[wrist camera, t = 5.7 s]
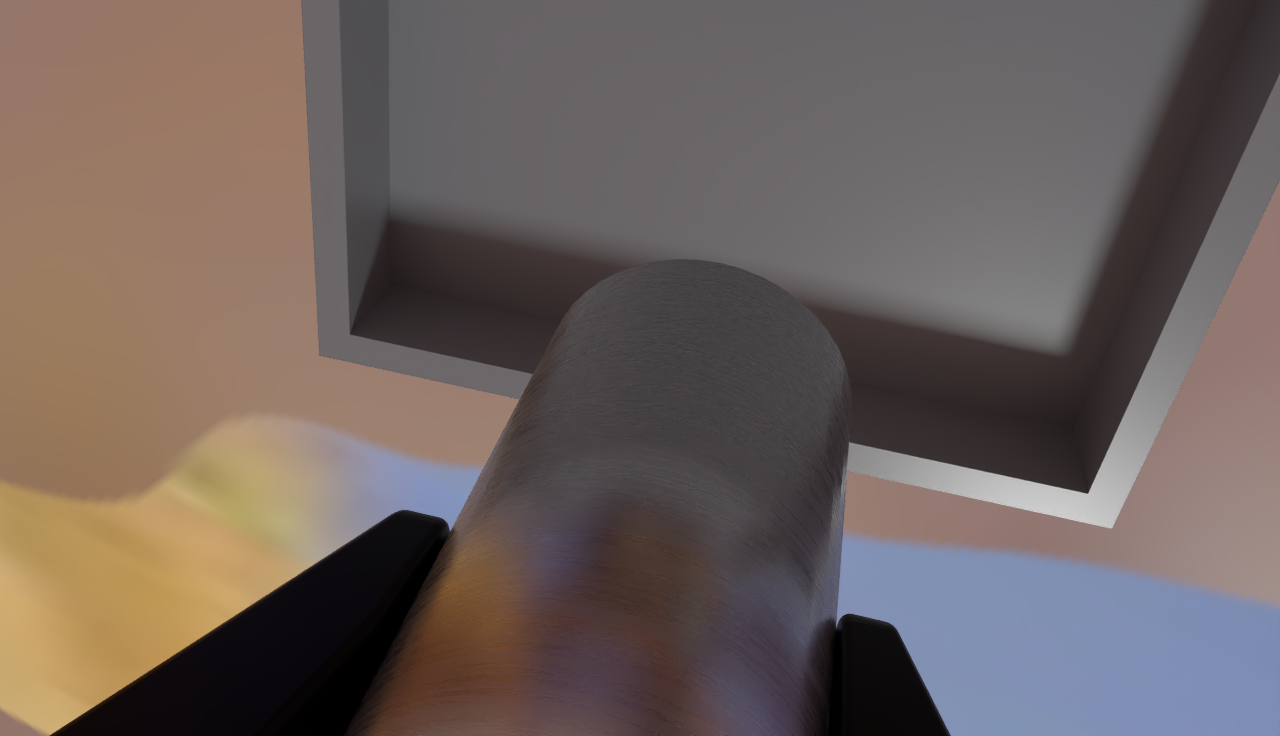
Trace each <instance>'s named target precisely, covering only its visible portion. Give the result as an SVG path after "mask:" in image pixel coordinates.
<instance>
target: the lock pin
mask: <svg viewBox="0 0 1280 736" xmlns="http://www.w3.org/2000/svg"><path fill="white" fill-rule="evenodd" d="M851 406H852V395H851V387H850V379H849V376H848V372H847V369H846V365H845V362H844V360H843V358H842V355H841V353H840V351H839V349H838V347H837V345H836V343H835V341H834V340H833V338H832V337H831V335H830V334H829V332H828V330H827V329H826V328H825V326H824V325H823V324H822V323H821V322H820V321H819V319H818V318H817V317H816V316H815V315H814V313H813V312H811V311H810V310H809V309H808V308H807V307H806V306H805V305H804V304H803V303H802V302H800V301H799V300H798V299H797V298H796V297H794V296H793V295H791V294H790V293H789V292H787V291H786V290H784V289H783V288H781V287H780V286H778V285H776V284H774V283H772V282H771V281H769V280H767V279H765V278H763V277H761V276H759V275H756V274H754V273H751V272H749V271H746V270H744V269H741V268H737V267H734V266H730V265H726V264H722V263H718V262H711V261H704V260H691V259H673V260H663V261H654V262H650V263H645V264H641V265H636V266H633V267H631V268H628V269H625V270H622V271H620V272H617V273H615V274H613V275H611V276H609V277H608V278H606V279H604V280H602V281H600V282H599V283H597V284H596V285H595V286H593V287H592V288H590V289H589V290H588V291H586V292H585V293H584V294H583V295H582V296H581V297H580V298H579V299H578V300H577V301H576V302H575V303H574V304H573V305H572V306H571V307H570V309H569V310H568V311H567V313H566V314H565V316H564V317H563V318H562V320H561V322H560V324H559V326H558V328H557V329H556V331H555V333H554V335H553V337H552V339H551V341H550V343H549V345H548V347H547V348H546V350H545V352H544V354H543V356H542V358H541V360H540V362H539V364H538V366H537V368H536V369H535V371H534V373H533V375H532V377H531V379H530V381H529V383H528V385H527V387H526V388H525V390H524V392H523V394H522V396H521V398H520V400H519V402H518V404H517V406H516V408H515V409H514V411H513V413H512V415H511V417H510V419H509V421H508V423H507V425H506V427H505V429H504V431H503V432H502V434H501V436H500V438H499V440H498V442H497V444H496V446H495V448H494V450H493V451H492V454H491V455H490V457H489V459H488V461H487V463H486V465H485V467H484V469H483V470H482V472H481V474H480V476H479V478H478V480H477V482H476V484H475V486H474V488H473V489H472V491H471V493H470V495H469V497H468V499H467V501H466V503H465V505H464V507H463V509H462V510H461V512H460V514H459V516H458V518H457V520H456V522H455V524H454V526H453V528H452V530H451V531H450V533H449V535H448V537H447V539H446V541H445V543H444V545H443V547H442V549H441V550H440V552H439V554H438V556H437V558H436V560H435V562H434V564H433V566H432V568H431V570H430V571H429V573H428V575H427V577H426V579H425V581H424V583H423V585H422V587H421V589H420V591H419V592H418V594H417V596H416V598H415V600H414V602H413V604H412V606H411V608H410V610H409V611H408V613H407V615H406V617H405V619H404V621H403V623H402V625H401V627H400V629H399V631H398V632H397V634H396V636H395V638H394V640H393V642H392V644H391V646H390V648H389V650H388V652H387V653H386V655H385V657H384V659H383V661H382V663H381V665H380V667H379V669H378V671H377V672H376V674H375V676H374V678H373V680H372V682H371V684H370V686H369V688H368V690H367V692H366V693H365V695H364V697H363V699H362V701H361V703H360V705H359V707H358V709H357V711H356V712H355V714H354V716H353V718H352V720H351V722H350V724H349V726H348V728H347V730H346V732H345V733H344V735H343V736H828V731H829V717H830V703H831V689H832V675H833V661H834V647H835V633H836V621H837V607H838V593H839V579H840V565H841V551H842V537H843V523H844V509H845V494H846V481H847V480H846V479H847V466H848V452H849V438H850V424H851Z"/></svg>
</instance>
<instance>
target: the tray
mask: <svg viewBox="0 0 1280 736" xmlns="http://www.w3.org/2000/svg"><path fill="white" fill-rule="evenodd" d="M301 3H302V23H303V43H304V62H305V82H306V102H307V119H308V120H307V121H308V141H309V161H310V180H311V201H312V220H313V239H314V259H315V278H316V299H317V317H318V318H317V319H318V337H319V355H320V356H324V357H329V358H333V359H338V360H342V361H347V362H351V363H356V364H361V365H365V366H369V367H374V368H379V369H383V370H388V371H392V372H397V373H402V374H406V375H411V376H416V377H420V378H424V379H429V380H434V381H438V382H443V383H447V384H452V385H456V386H461V387H466V388H470V389H475V390H479V391H484V392H489V393H493V394H498V395H502V396H507V397H511V398H516V399H520V398H521V396H522V394H523V392H524V390H525V388H526V387H527V385H528V383H529V381H530V379H531V377H532V375H533V373H534V371H535V369H536V368H537V366H538V364H539V362H540V360H541V358H542V356H543V354H544V352H545V350H546V348H547V347H548V345H549V343H550V341H551V339H552V337H553V335H554V333H555V331H556V329H557V328H558V326H559V324H560V322H561V320H562V318H563V317H564V316H565V314H566V313H567V311H568V310H569V309H570V307H571V306H572V305H573V304H574V303H575V302H576V301H577V300H578V299H579V298H580V297H581V296H582V295H583V294H584V293H585V292H586V291H588V290H589V289H590V288H592V287H593V286H595V285H596V284H597V283H599V282H600V281H602V280H604V279H606V278H608V277H609V276H611V275H613V274H615V273H617V272H620V271H622V270H625V269H628V268H631V267H633V266H636V265H641V264H645V263H650V262H654V261H663V260H673V259H691V260H704V261H711V262H718V263H722V264H726V265H730V266H734V267H737V268H741V269H744V270H746V271H749V272H751V273H754V274H756V275H759V276H761V277H763V278H765V279H767V280H769V281H771V282H772V283H774V284H776V285H778V286H780V287H781V288H783V289H784V290H786V291H787V292H789V293H790V294H791V295H793V296H794V297H796V298H797V299H798V300H799V301H800V302H802V303H803V304H804V305H805V306H806V307H807V308H808V309H809V310H810V311H811V312H813V313H814V315H815V316H816V317H817V318H818V319H819V321H820V322H821V323H822V324H823V325H824V326H825V328H826V329H827V330H828V332H829V334H830V335H831V337H832V338H833V340H834V341H835V343H836V345H837V347H838V349H839V351H840V353H841V355H842V358H843V360H844V362H845V365H846V369H847V372H848V376H849V379H850V387H851V395H852V406H851V424H850V438H849V452H848V466H847V471H851V472H855V473H860V474H864V475H869V476H873V477H878V478H882V479H887V480H892V481H896V482H901V483H905V484H910V485H915V486H919V487H924V488H928V489H933V490H938V491H942V492H947V493H951V494H956V495H961V496H965V497H970V498H974V499H979V500H984V501H988V502H992V503H997V504H1002V505H1006V506H1011V507H1015V508H1020V509H1025V510H1029V511H1034V512H1039V513H1043V514H1047V515H1052V516H1057V517H1061V518H1066V519H1070V520H1075V521H1080V522H1084V523H1089V524H1093V525H1098V526H1102V527H1107V528H1112V527H1113V525H1114V523H1115V521H1116V519H1117V517H1118V514H1119V512H1120V510H1121V508H1122V506H1123V504H1124V502H1125V500H1126V498H1127V496H1128V494H1129V492H1130V489H1131V488H1132V485H1133V483H1134V481H1135V479H1136V477H1137V475H1138V473H1139V471H1140V469H1141V467H1142V465H1143V462H1144V461H1145V459H1146V456H1147V454H1148V452H1149V450H1150V448H1151V446H1152V444H1153V442H1154V440H1155V438H1156V436H1157V434H1158V432H1159V429H1160V427H1161V425H1162V423H1163V421H1164V419H1165V417H1166V415H1167V413H1168V411H1169V409H1170V407H1171V405H1172V403H1173V401H1174V398H1175V396H1176V394H1177V392H1178V390H1179V388H1180V386H1181V384H1182V382H1183V380H1184V378H1185V376H1186V374H1187V372H1188V369H1189V367H1190V365H1191V363H1192V361H1193V359H1194V357H1195V355H1196V353H1197V351H1198V349H1199V347H1200V345H1201V342H1202V341H1203V338H1204V336H1205V334H1206V332H1207V330H1208V328H1209V326H1210V324H1211V322H1212V319H1213V318H1214V316H1215V314H1216V312H1217V309H1218V307H1219V305H1220V303H1221V301H1222V299H1223V297H1224V295H1225V293H1226V291H1227V289H1228V287H1229V285H1230V282H1231V280H1232V278H1233V276H1234V274H1235V272H1236V270H1237V268H1238V266H1239V264H1240V262H1241V260H1242V258H1243V256H1244V254H1245V251H1246V249H1247V247H1248V245H1249V243H1250V241H1251V239H1252V237H1253V235H1254V233H1255V231H1256V229H1257V227H1258V225H1259V222H1260V220H1261V218H1262V216H1263V214H1264V212H1265V210H1266V208H1267V206H1268V204H1269V202H1270V200H1271V198H1272V195H1273V193H1274V191H1275V189H1276V187H1277V185H1278V183H1279V181H1280V0H301Z"/></svg>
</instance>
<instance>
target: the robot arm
mask: <svg viewBox="0 0 1280 736" xmlns="http://www.w3.org/2000/svg"><path fill="white" fill-rule="evenodd" d="M449 533H450V530H449V526H448V523H447V522H446V521H445V520H443V519H442V518H439V517H435V516H430V515H426V514H422V513H417V512H413V511H409V510H401V511H398V512H395V513H393V514H391V515H390V516H388V517H387V518H385V519H384V520H382V521H381V522H379V523H378V524H376V525H374V526H373V527H371V528H370V529H368V530H367V531H365V532H364V533H362V534H361V535H359V536H357V537H356V538H354V539H353V540H351V541H350V542H348V543H347V544H345V545H344V546H342V547H340V548H339V549H337V550H336V551H334V552H333V553H331V554H330V555H328V556H327V557H325V558H323V559H322V560H320V561H319V562H317V563H316V564H314V565H313V566H311V567H310V568H308V569H306V570H305V571H303V572H302V573H300V574H299V575H297V576H296V577H294V578H293V579H291V580H289V581H288V582H286V583H285V584H283V585H282V586H280V587H279V588H277V589H275V590H274V591H272V592H271V593H269V594H268V595H266V596H265V597H263V598H262V599H260V600H258V601H257V602H255V603H254V604H252V605H251V606H249V607H248V608H246V609H245V610H243V611H241V612H240V613H238V614H237V615H235V616H234V617H232V618H231V619H229V620H228V621H226V622H224V623H223V624H221V625H220V626H218V627H217V628H215V629H214V630H212V631H211V632H209V633H207V634H206V635H204V636H203V637H201V638H200V639H198V640H197V641H195V642H194V643H192V644H190V645H189V646H187V647H186V648H184V649H183V650H181V651H180V652H178V653H177V654H175V655H173V656H172V657H170V658H169V659H167V660H166V661H164V662H163V663H161V664H160V665H158V666H156V667H155V668H153V669H152V670H150V671H149V672H147V673H146V674H144V675H143V676H141V677H139V678H138V679H136V680H135V681H133V682H132V683H130V684H129V685H127V686H126V687H124V688H122V689H121V690H119V691H118V692H116V693H115V694H113V695H112V696H110V697H109V698H107V699H105V700H104V701H102V702H101V703H99V704H98V705H96V706H95V707H93V708H92V709H90V710H88V711H87V712H85V713H84V714H82V715H81V716H79V717H78V718H76V719H75V720H73V721H71V722H70V723H68V724H67V725H65V726H64V727H62V728H61V729H59V730H57V731H56V732H54V733H53V734H51V735H50V736H343V735H344V733H345V732H346V730H347V728H348V726H349V724H350V722H351V720H352V718H353V716H354V714H355V712H356V711H357V709H358V707H359V705H360V703H361V701H362V699H363V697H364V695H365V693H366V692H367V690H368V688H369V686H370V684H371V682H372V680H373V678H374V676H375V674H376V672H377V671H378V669H379V667H380V665H381V663H382V661H383V659H384V657H385V655H386V653H387V652H388V650H389V648H390V646H391V644H392V642H393V640H394V638H395V636H396V634H397V632H398V631H399V629H400V627H401V625H402V623H403V621H404V619H405V617H406V615H407V613H408V611H409V610H410V608H411V606H412V604H413V602H414V600H415V598H416V596H417V594H418V592H419V591H420V589H421V587H422V585H423V583H424V581H425V579H426V577H427V575H428V573H429V571H430V570H431V568H432V566H433V564H434V562H435V560H436V558H437V556H438V554H439V552H440V550H441V549H442V547H443V545H444V543H445V541H446V539H447V537H448V535H449ZM828 736H951V735H950V733H949V731H948V729H947V728H946V726H945V724H944V722H943V720H942V718H941V716H940V714H939V712H938V710H937V708H936V706H935V704H934V702H933V700H932V698H931V696H930V694H929V692H928V690H927V688H926V686H925V684H924V682H923V680H922V678H921V676H920V674H919V672H918V670H917V668H916V666H915V664H914V662H913V660H912V658H911V656H910V654H909V653H908V651H907V649H906V647H905V645H904V643H903V641H902V639H901V637H900V635H899V633H898V631H897V629H896V628H895V627H894V626H893V625H891V624H890V623H888V622H884V621H880V620H875V619H871V618H867V617H863V616H858V615H854V614H846V615H844V616H842V618H841V619H840V620H839V622H838V625H837V628H836V633H835V647H834V661H833V675H832V689H831V703H830V717H829V731H828Z"/></svg>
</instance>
